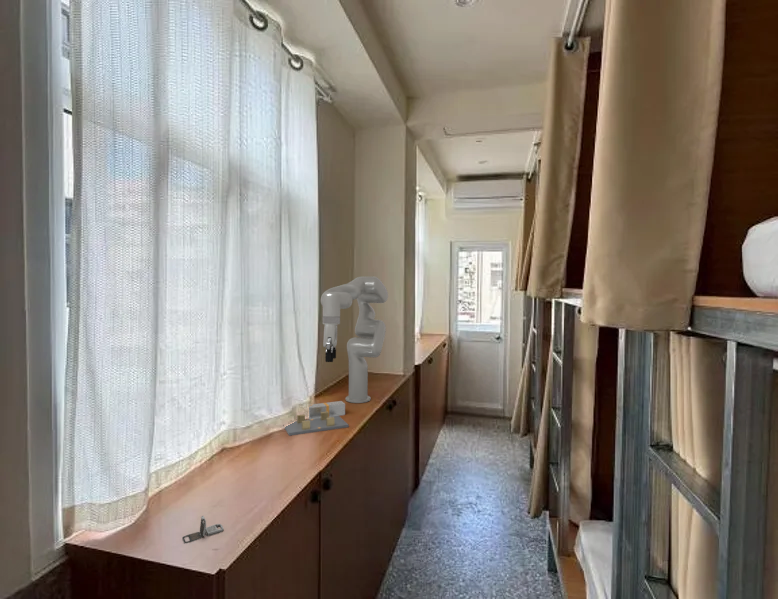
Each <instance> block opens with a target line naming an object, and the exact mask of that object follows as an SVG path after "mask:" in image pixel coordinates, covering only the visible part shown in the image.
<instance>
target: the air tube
mask: <svg viewBox="0 0 778 599" xmlns="http://www.w3.org/2000/svg"><path fill="white" fill-rule="evenodd" d="M312 404H313V405H312V406H310V407H309V418H308V420H309V419H317V418H321V412H326V411H328V417H332V416H340V417H341V416H345V415H346V403H345V402H343V401H342V400H339V401H338V400H337V401H331V402H330V401H329V402H321V403H312Z"/></svg>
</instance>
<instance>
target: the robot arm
mask: <svg viewBox="0 0 778 599" xmlns="http://www.w3.org/2000/svg"><path fill="white" fill-rule="evenodd" d="M388 298H389V292H388V290H387V288H386V286H385V284H384V283H383V282H382V280H381V279H380V278H378V277H377V276H357V277H355V278H354V279H353V280H351V281H349V282H347V283H344V284H341V285H338V286H334V287H330V288H328V289H326V290H325V291H324V292H323V293H322V295H321V297H320V304H321V306H322V325H323V326H324V327H323V328H324V329H323V341H322V342H323V343H322V346H323V348H325V354H324V355H325V357H324V358H325V362H326V363H333V362H334V360H335V359H336V358H337V348H336V347H337V345H338V344H337V343H338V325H341V309H342V310H343V309H344V310H345V309H349V308H351V306H352V304H353V301H354V300H356V301H357V305H358V309H359V312H358V316H357V320H356V324H355V328H354V333H355V337H350V339H348V341H347V343H346V351H347V357H348V395H347V396H345V401H346V402H348V403H352V404H361V403H363V404H364V403H368V402H369V401H371V396H370V395H368V392H369V391H368V386H369V385H368V383H369V382H368V378H369V376H368V375H369V374H368V372H369V371H368V369H369V368H368V367H369V365H368V363H367V360H366V358H378V357H379V356H380V355H381V353H382V350H383V345H384V341H385V336H386V331H387V328H386V323H385V322H384V320H382V319H375V318H376V312H375V309H374V307H372V306H371V304H385V303H386V302H387V301H388Z"/></svg>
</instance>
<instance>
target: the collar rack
mask: <svg viewBox="0 0 778 599" xmlns="http://www.w3.org/2000/svg"><path fill="white" fill-rule="evenodd" d="M293 422H294V421H293ZM349 427H350V426H349V424H348V423H347V422H346V421H345V420H344V419H343V418H342V417H341V416H332V417H328V411H326V412H321V418H317V419H309V418H308V419H306V414H304V413H303V414H297V415H296V420H295V422H294V423H292V424H290V425H288V426H286V427H285V428H284V430H285V431H286V433H287V434H288V436H296V435H303V434H304V435H305V434H311V433H317V432H324V431H331V430H338V429H345V428H349Z"/></svg>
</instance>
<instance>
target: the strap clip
mask: <svg viewBox="0 0 778 599" xmlns="http://www.w3.org/2000/svg"><path fill="white" fill-rule="evenodd" d="M200 518H201V519H200V525H199V526H200V527H199V531H196V532H192V533H190V534H187V535H184V536H182V541H183V543H184V544H188V543H192V542H195V541H197V540H200V539H202V538H204V536H206V537H210V536H214V535H216V534H219V533H222V532H224V530H225V529H224V527H223V525H222V523H217V524H212V525H209V526H207V520H206V518H205V516H204V515H202V516H200ZM218 528H219V529H218ZM187 537H188V539H189V540H186V539H185V538H187Z"/></svg>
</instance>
